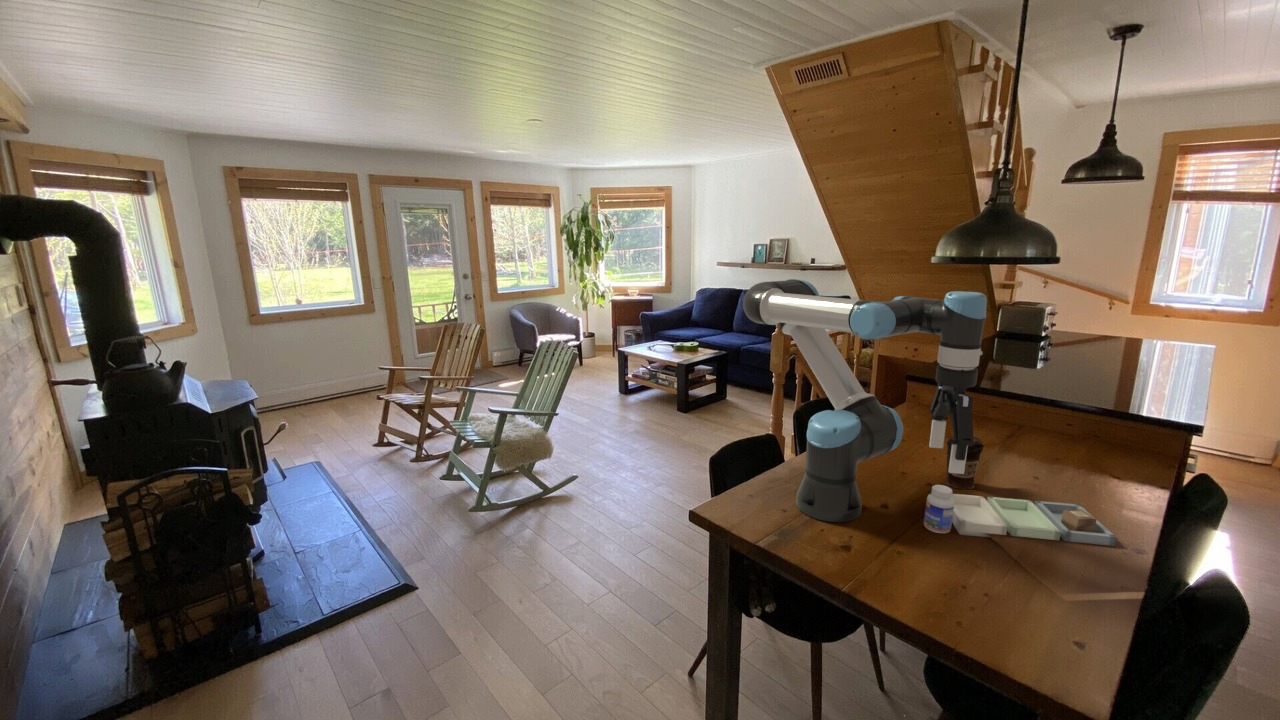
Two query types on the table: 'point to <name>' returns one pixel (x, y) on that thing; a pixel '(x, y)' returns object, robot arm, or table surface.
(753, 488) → the table surface
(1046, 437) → the table surface
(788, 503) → the table surface
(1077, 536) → the bin
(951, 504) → the pill bottle
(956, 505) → the bin
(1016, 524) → the bin mid
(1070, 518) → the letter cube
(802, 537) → the table surface
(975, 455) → the coffee cup
